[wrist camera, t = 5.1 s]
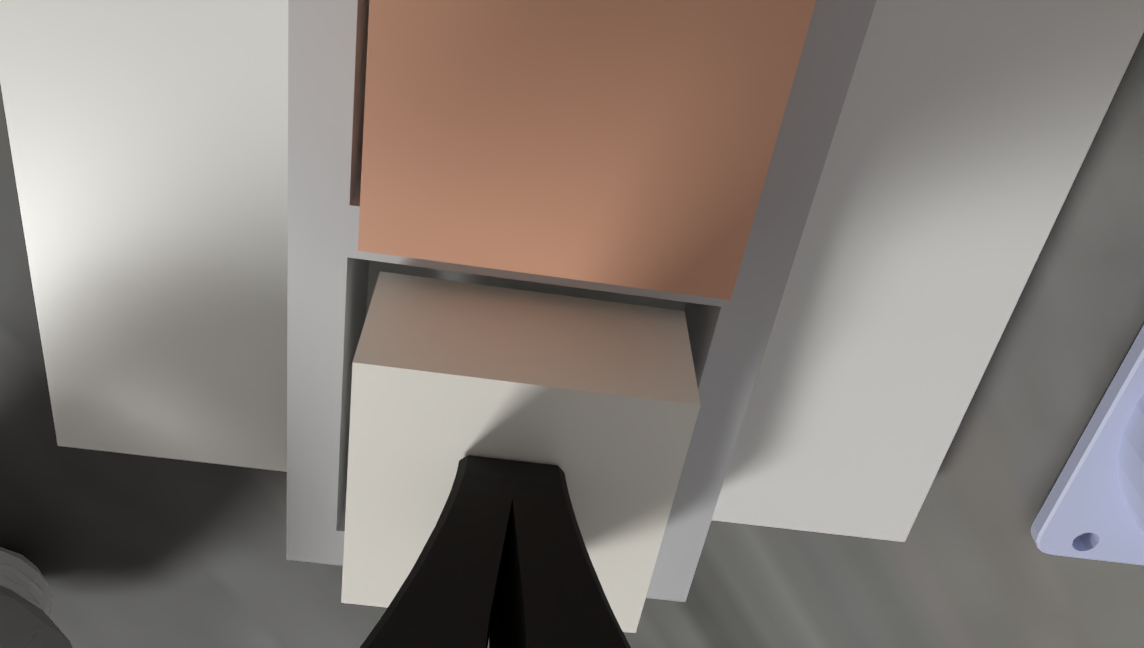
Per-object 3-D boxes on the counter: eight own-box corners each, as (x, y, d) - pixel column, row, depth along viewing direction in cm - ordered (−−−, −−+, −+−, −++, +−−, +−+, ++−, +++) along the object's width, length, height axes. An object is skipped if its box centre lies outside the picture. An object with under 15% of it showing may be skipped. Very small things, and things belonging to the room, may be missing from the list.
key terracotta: (798, -129, 12) (840, -86, 10) (709, 214, 14) (730, 299, 12) (408, -195, 11) (377, -165, 9) (385, 168, 14) (358, 250, 12)
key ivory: (684, 311, 15) (700, 405, 13) (628, 527, 17) (635, 633, 15) (380, 270, 15) (352, 362, 13) (366, 498, 17) (341, 602, 15)
